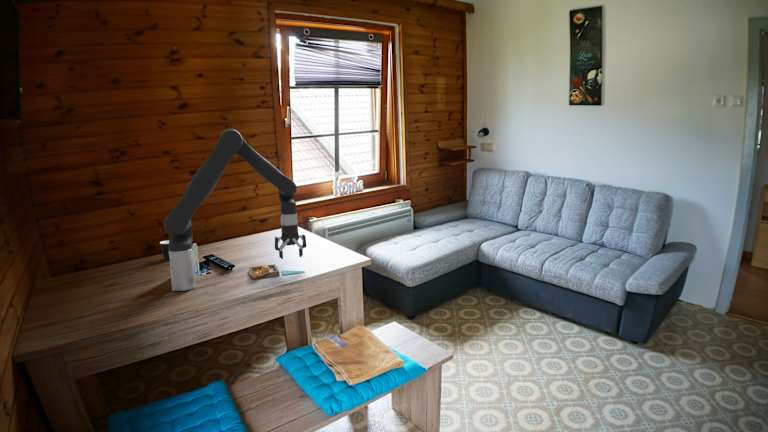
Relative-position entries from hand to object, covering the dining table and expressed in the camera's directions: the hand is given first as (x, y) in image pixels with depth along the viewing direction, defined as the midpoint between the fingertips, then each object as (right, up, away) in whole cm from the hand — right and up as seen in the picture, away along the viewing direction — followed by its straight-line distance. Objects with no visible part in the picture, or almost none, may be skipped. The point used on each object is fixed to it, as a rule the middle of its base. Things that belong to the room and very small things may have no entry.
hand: (291, 257), depth 204 cm
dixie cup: (-69, -5, +26) cm, 74 cm away
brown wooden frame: (-12, -7, -1) cm, 14 cm away
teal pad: (0, -7, +1) cm, 7 cm away
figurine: (-11, -7, -2) cm, 13 cm away
